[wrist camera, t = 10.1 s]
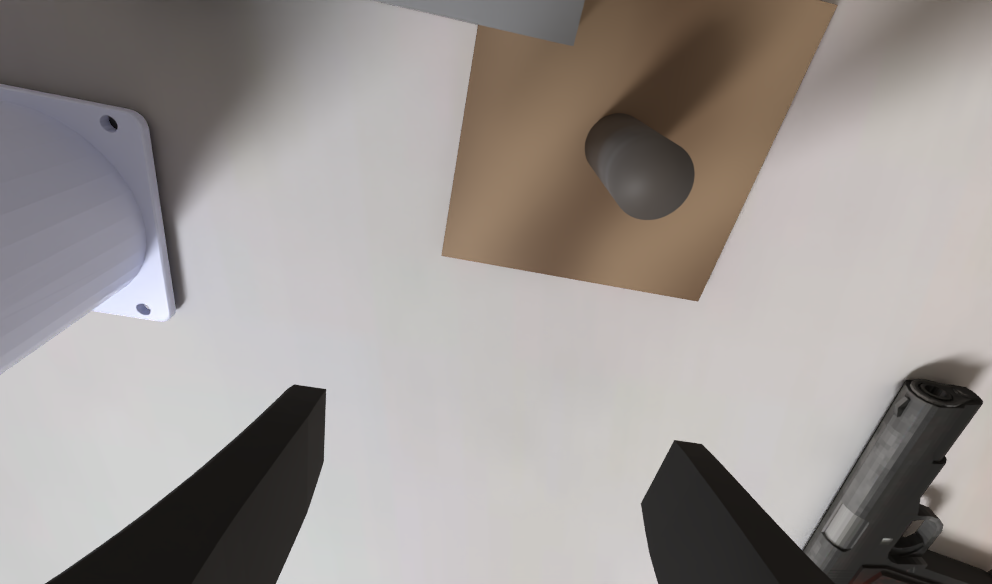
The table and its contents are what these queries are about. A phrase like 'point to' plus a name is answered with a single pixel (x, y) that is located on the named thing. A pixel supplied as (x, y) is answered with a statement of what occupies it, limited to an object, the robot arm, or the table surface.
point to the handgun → (897, 496)
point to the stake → (625, 138)
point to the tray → (509, 15)
